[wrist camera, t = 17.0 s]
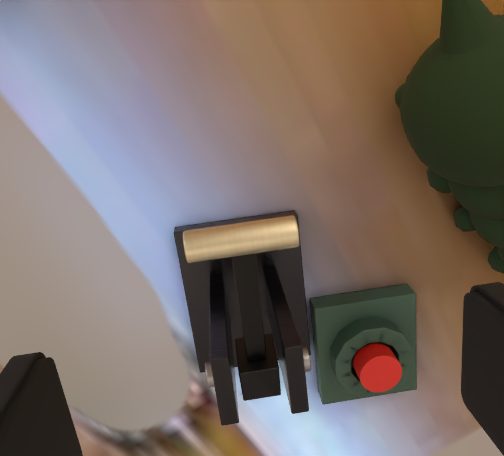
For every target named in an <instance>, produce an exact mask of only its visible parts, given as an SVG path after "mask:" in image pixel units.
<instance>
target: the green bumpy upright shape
mask: <svg viewBox="0 0 504 456" xmlns="http://www.w3.org/2000/svg"><path fill="white" fill-rule="evenodd" d="M395 101H396V104H397V105H398V107H399V108H400V111H401V120H402V124H403V128H404V130H405V133H406V136H407V138H408V140H409V143H410V145H411V147H412V148H413V150H414V151H415V153H416V154H417V156H418V157H419V158H420V160H421V161H422V162H423V163H424V164H425V165H426V166H427V167H429V168H428V170H427V173H428V180H429V183H430V186H432V187H433V188H434V189H436V190H437V191H440V192H443V193H452V194H453V195H454V197H455V198H456V199H457V201H458V202H459V203H460V204H461V205H462V206H463V207H461V208H459V209H457V210H456V212H455V213H454V218H455V224H456V227H458V228H459V229H461V230H462V231H473V230H476V231H477V232H478V234H479V235H480V236H481V237H482V238H483V239H485V240H486V241H487V242H489V243H490V244H492V245H493V246H496V247H495V248H494V249H493V250H492V251H491V252H490V253H489V257H488V261H489V264H490V265H491V267H492V269H494V270H496V271H498V272H501V273H504V15H493V14H492V13H491V12H490V11H489V10H488V8H487V7H486V6H485V5H484V4H483V2H482V1H481V0H443V1H442V15H441V28H440V38H438V39H437V40H436V41H435V42H434V43H433V44H432V45H431V46H430V47H429V48H428V49H427V50H426V51H425V52H424V53H423V55H422V56H421V57H420V58H419V60H418V61H417V63H416V64H415V66H414V67H413V69H412V71H411V72H410V74H409V75H408V77H407V80H406V82H405V83H404V84H403V85H402V86H400V87H399V88H398V90H397V91H396V94H395Z"/></svg>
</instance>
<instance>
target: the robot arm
mask: <svg viewBox="0 0 504 456" xmlns="http://www.w3.org/2000/svg"><path fill="white" fill-rule="evenodd" d="M461 394H462V398H463V401H464V403H465V405H466V407H467V408H468V410H469V411H470V412H471V414H472V415H473V416H474V418H475V419H476V420H477V421H478V423H479V424H480V425H481V427H482V428H483V429H484V431H485V432H486V433H487V434H488V436H489V437H490V438H491V440H492V441H493V442H494V444H495V445H496V446H497V448H498V449H499V450H500V452H501V453H502V454H503V455H504V284H502V283H500V282H495V283H489V284H482V285H476V286H473V287H472V288H471V290H470V293H467V294H465V296H464V308H463V341H462V374H461ZM0 456H83V455H82V450H81V447H80V444H79V440H78V437H77V434H76V431H75V427H74V424H73V421H72V418H71V414H70V411H69V408H68V405H67V401H66V398H65V395H64V392H63V389H62V385H61V382H60V379H59V375H58V372H57V369H56V366H55V363H54V360H53V359H52V358H50V357H49V358H46V357H45V355H44V354H43V353H41V352H38V353H32V354H25V355H18V356H14V357H12V358H11V359H10V360H9V362H8V363H7V365H6V366H5V368H4V369H3V371H2V372H1V374H0Z"/></svg>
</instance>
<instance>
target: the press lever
mask: <svg viewBox="0 0 504 456" xmlns="http://www.w3.org/2000/svg"><path fill="white" fill-rule="evenodd" d="M183 244H184V251H185V256H186V260H187V262H188V263H193V262H199V261H206V260H213V259H220V258H227V257H231V258H232V264H233V271H234V277H235V284H236V290H237V297H238V303H239V310H240V317H241V323H242V330H243V336H244V338H237V339H235V345H236V354H237V362H238V371H239V377H240V383H241V388H242V394H243V400H244V401H246V400H252V399H258V398H264V397H270V396H277V395H281V390H280V378H279V367H278V362H277V356H276V351H275V346H274V341H273V336H272V333H270V334H264V327H263V317H262V308H261V298H260V289H259V279H258V270H257V261H256V253H261V252H268V251H274V250H281V249H288V248H295V247H298V246H299V231H298V225H297V221H296V218H295V216H293V215H291V216H284V217H277V218H271V219H264V220H257V221H250V222H243V223H236V224H229V225H222V226H215V227H208V228H201V229H194V230H187V231H184V232H183Z"/></svg>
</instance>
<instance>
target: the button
mask: <svg viewBox="0 0 504 456" xmlns="http://www.w3.org/2000/svg"><path fill="white" fill-rule="evenodd" d="M353 365H354V369H355V371H356V373H357V375H358V377H359V380H360V382H361V384H362V385H363V386H364V387H365V388H366V389H367V390H369V391H372V392H384V391H387V390H390V389H391V388H393V387H394V386H395V385H396V384H397V383H398V382H399V380H400V378H401V376H402V367H401V364H400V363H399V361H398V360H397V358H396V357H395V355H394V353H393V352H392V350H391V349H390V348H389V347H388V346H386V345H384V344H381V343H372V344H368V345H366V346H364V347H362V348H361V349H360V350H359V351H358V352H357V354H356V355H355V357H354V362H353Z"/></svg>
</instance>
